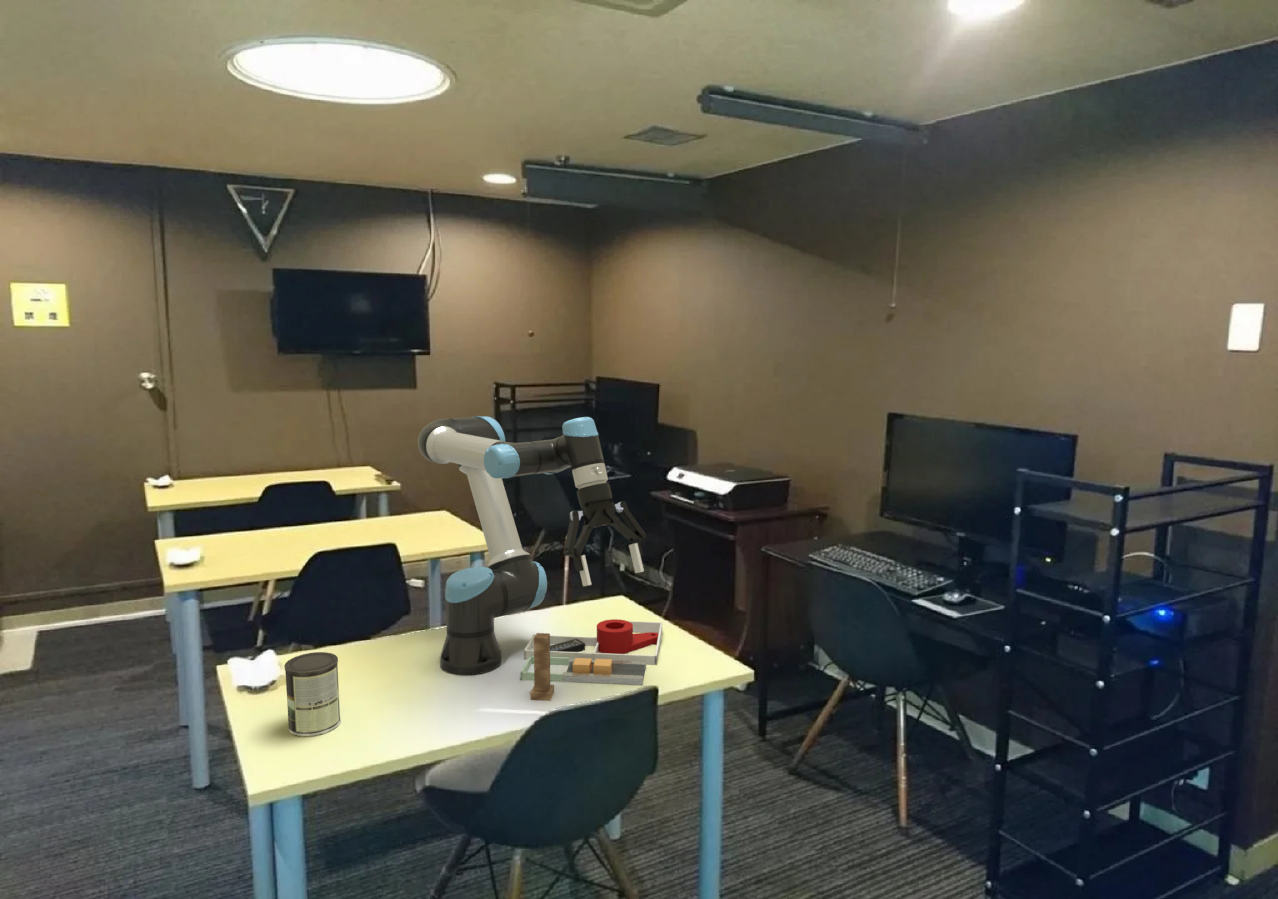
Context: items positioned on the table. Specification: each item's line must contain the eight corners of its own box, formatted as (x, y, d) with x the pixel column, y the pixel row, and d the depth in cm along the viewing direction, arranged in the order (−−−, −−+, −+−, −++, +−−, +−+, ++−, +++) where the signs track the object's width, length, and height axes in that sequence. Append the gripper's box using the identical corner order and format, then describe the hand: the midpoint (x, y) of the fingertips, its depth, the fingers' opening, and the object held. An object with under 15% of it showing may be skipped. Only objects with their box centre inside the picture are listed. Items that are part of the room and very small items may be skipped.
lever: (605, 659, 202) (605, 634, 201) (591, 647, 210) (591, 622, 209) (667, 647, 210) (668, 623, 209) (651, 635, 218) (651, 612, 217)
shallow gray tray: (562, 684, 187) (562, 675, 187) (569, 667, 197) (569, 658, 197) (642, 688, 186) (642, 679, 185) (645, 670, 196) (645, 661, 195)
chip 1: (572, 676, 190) (572, 664, 190) (575, 669, 194) (575, 657, 194) (589, 677, 190) (589, 665, 189) (591, 670, 194) (591, 658, 193)
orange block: (593, 677, 190) (593, 665, 189) (595, 670, 194) (595, 658, 193) (610, 678, 189) (610, 666, 189) (612, 671, 193) (612, 659, 193)
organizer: (524, 662, 200) (523, 650, 200) (543, 628, 224) (543, 617, 224) (656, 667, 197) (656, 656, 197) (662, 632, 221) (662, 622, 221)
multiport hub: (540, 656, 203) (540, 648, 203) (576, 646, 210) (576, 638, 210) (549, 662, 200) (549, 653, 200) (585, 652, 207) (585, 643, 206)
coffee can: (276, 731, 164) (272, 666, 162) (314, 710, 174) (311, 648, 172) (315, 741, 160) (311, 675, 158) (351, 719, 170) (348, 656, 168)
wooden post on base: (530, 703, 178) (529, 639, 176) (535, 694, 182) (534, 631, 180) (550, 704, 177) (549, 639, 175) (554, 695, 182) (553, 632, 180)
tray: (520, 682, 188) (520, 672, 188) (530, 665, 198) (529, 656, 198) (562, 684, 187) (562, 674, 187) (569, 667, 197) (569, 657, 197)
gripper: (549, 491, 169) (571, 589, 166) (647, 474, 182) (668, 565, 179) (535, 497, 175) (556, 592, 172) (630, 480, 188) (651, 568, 186)
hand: (614, 579), depth 176 cm, fingers open, 13 cm apart
